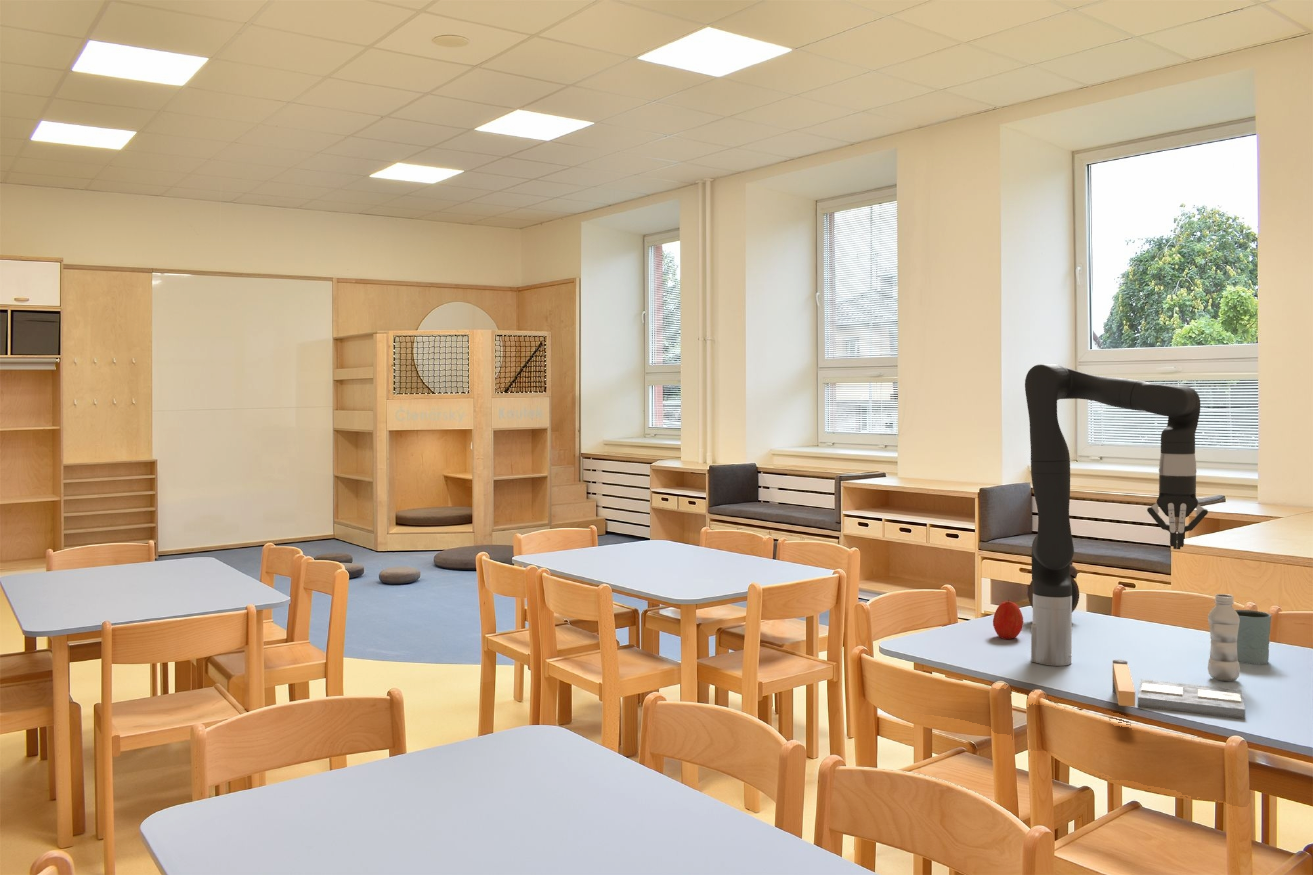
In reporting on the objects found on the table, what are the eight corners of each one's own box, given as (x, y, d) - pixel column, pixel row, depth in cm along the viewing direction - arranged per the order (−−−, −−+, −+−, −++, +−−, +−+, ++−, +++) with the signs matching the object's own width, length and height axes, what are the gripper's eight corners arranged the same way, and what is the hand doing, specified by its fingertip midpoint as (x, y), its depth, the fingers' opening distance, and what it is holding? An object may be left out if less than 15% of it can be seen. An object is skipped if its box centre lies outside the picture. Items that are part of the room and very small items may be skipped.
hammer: (1112, 690, 230) (1112, 659, 229) (1126, 692, 229) (1127, 660, 228) (1118, 725, 205) (1118, 690, 204) (1134, 727, 204) (1135, 691, 203)
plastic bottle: (1244, 684, 235) (1245, 598, 235) (1212, 682, 237) (1213, 597, 236) (1234, 676, 242) (1235, 593, 241) (1203, 675, 243) (1204, 592, 242)
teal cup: (1259, 667, 251) (1260, 618, 250) (1217, 659, 259) (1217, 612, 258) (1278, 660, 257) (1278, 613, 256) (1236, 653, 265) (1236, 607, 264)
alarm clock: (1041, 624, 300) (1041, 557, 299) (1026, 620, 307) (1026, 554, 306) (1083, 621, 304) (1083, 555, 303) (1067, 617, 311) (1067, 552, 310)
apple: (1028, 641, 280) (1028, 602, 279) (998, 641, 280) (998, 602, 279) (1018, 634, 288) (1018, 596, 287) (988, 634, 288) (989, 596, 288)
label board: (1137, 706, 219) (1138, 695, 219) (1140, 687, 233) (1141, 677, 233) (1244, 719, 210) (1245, 707, 209) (1241, 698, 224) (1241, 688, 224)
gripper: (1210, 473, 232) (1209, 548, 233) (1146, 471, 238) (1145, 545, 239) (1210, 475, 225) (1210, 552, 226) (1144, 473, 231) (1144, 549, 232)
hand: (1176, 548), depth 232 cm, fingers closed
